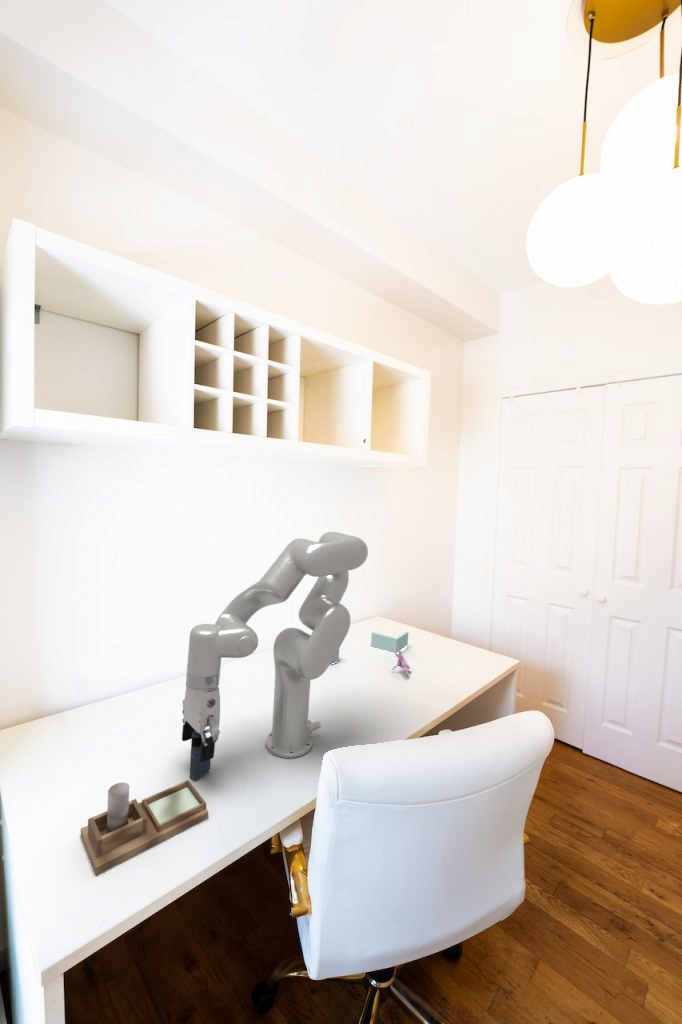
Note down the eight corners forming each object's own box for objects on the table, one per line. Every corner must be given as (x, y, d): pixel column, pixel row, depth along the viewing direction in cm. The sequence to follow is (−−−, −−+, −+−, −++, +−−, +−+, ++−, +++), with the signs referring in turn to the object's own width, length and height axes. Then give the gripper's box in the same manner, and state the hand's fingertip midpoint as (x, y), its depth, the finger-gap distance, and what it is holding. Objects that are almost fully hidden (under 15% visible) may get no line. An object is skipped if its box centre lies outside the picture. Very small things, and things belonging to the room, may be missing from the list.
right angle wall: (407, 648, 193) (408, 632, 192) (395, 656, 183) (396, 639, 182) (383, 641, 199) (384, 625, 199) (370, 649, 189) (371, 632, 188)
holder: (185, 788, 98) (187, 744, 98) (207, 818, 90) (210, 770, 90) (80, 835, 84) (81, 784, 83) (95, 875, 76) (97, 819, 75)
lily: (398, 686, 158) (412, 665, 157) (375, 664, 165) (389, 644, 164) (410, 685, 168) (424, 665, 167) (389, 664, 175) (402, 645, 174)
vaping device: (187, 778, 102) (189, 729, 101) (205, 766, 106) (207, 719, 105) (194, 783, 100) (196, 733, 100) (212, 771, 105) (214, 723, 104)
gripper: (235, 689, 98) (229, 762, 99) (201, 662, 110) (196, 727, 111) (204, 697, 93) (198, 774, 94) (172, 668, 105) (167, 736, 106)
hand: (197, 749), depth 102 cm, fingers open, 9 cm apart
